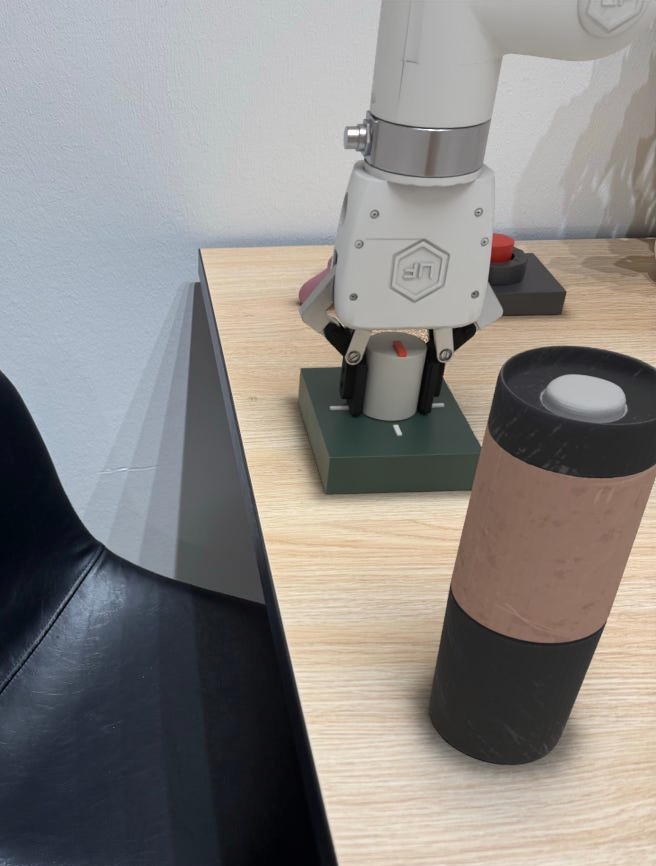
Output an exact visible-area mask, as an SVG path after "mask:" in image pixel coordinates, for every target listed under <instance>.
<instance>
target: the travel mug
mask: <svg viewBox="0 0 656 866" xmlns="http://www.w3.org/2000/svg"><path fill="white" fill-rule="evenodd" d="M494 387H495V388H494V392H493V396H492V400H491V404H490V409H489V414H488V418H487V421H486V427H485V431H484V435H483V439H482V444H481V447H482V448H481V452H480V456H479V461H478V465H477V469H476V474H475V478H474V482H473V487H472V490H470V496H469V500H468V504H467V509H466V513H465V517H464V521H463V527H462V531H461V535H460V538H459V544H458V548H457V552H456V557H455V561H454V565H453V569H452V570H453V571H452V574H451V577H450V578H451V579H450V585H449V589H448V593H447V594H448V595H447V601H446V607H445V611H444V616H443V623H442V628H441V632H440V633H441V634H440V640H439V645H438V650H437V655H436V656H437V657H436V662H435V667H434V673H433V679H432V685H431V691H430V697H429V698H430V699H429V713H430V719H431V721H432V724H433V726H434V727H435V729H436V731H437V732H438V734H439V735H440V736H441V737H442V738H443V739H444V740H445V741H446V742H447V743H448V744H449V745H451V746H452V747H454V748H455V749H457V750H458V751H460V752H462V753H463V754H465V755H467V756H470V757H473V758H475V759H478V760H479V761H485V762H487V763H494V764H500V765H519V764H526V763H530V762H534V761H536V760H540V759H541V758H543V757H545V756H546V755H547V754H549V753H551V751H552V750H553V749H554V748H555V746H556V745H557V744H558V742H559V741H560V739H561V736H562V735H563V732H564V730H565V727H566V725H567V723H568V720H569V718H570V715H571V714H572V710H573V708H574V706H575V703H576V700H577V698H578V695H579V692H580V691H581V688H582V685H583V683H584V681H585V678H586V675H587V673H588V671H589V667H590V665H591V663H592V660H593V658H594V655H595V653H596V651H597V648H598V645H599V643H600V640H601V637H602V636H603V633H604V630H605V627H606V625H607V622H608V619H609V618H610V614H611V611H612V609H613V606H614V602H615V600H616V596H617V593H618V591H619V588H620V584H621V582H622V579H623V576H624V573H625V570H626V567H627V564H628V561H629V558H630V555H631V552H632V549H633V546H634V544H635V540H636V538H637V534H638V531H639V529H640V526H641V523H642V521H643V516H644V513H645V510H646V508H647V504H648V501H649V499H650V496H651V493H652V490H653V487H654V484H655V481H656V367H655V366H653V365H651V364H650V363H648V362H645V361H643V360H641V359H639V358H635V357H633V356H630V355H629V354H628V355H627V354H623V353H620V352H616V351H612V350H608V349H604V348H598V347H590V346H582V345H548V346H540V347H534V348H531V349H526V350H524V351H520V352H518V353H516V354H514V355H512V356H510V358H508V359H507V360H506V361H505V362H503V364H502V366H501V368H500V370H499V372H498V375H497V379H496V383H495V386H494Z"/></svg>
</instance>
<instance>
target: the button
mask: <svg viewBox="0 0 656 866" xmlns="http://www.w3.org/2000/svg"><path fill="white" fill-rule="evenodd" d="M514 247H515V239H514V238H513V237H511V236H509V235H506V234H503V233H497V232H496V233H495V232H493V237H492V248H491V257H490V262H506V261H510V260H511V257H512V252H513V248H514Z"/></svg>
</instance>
